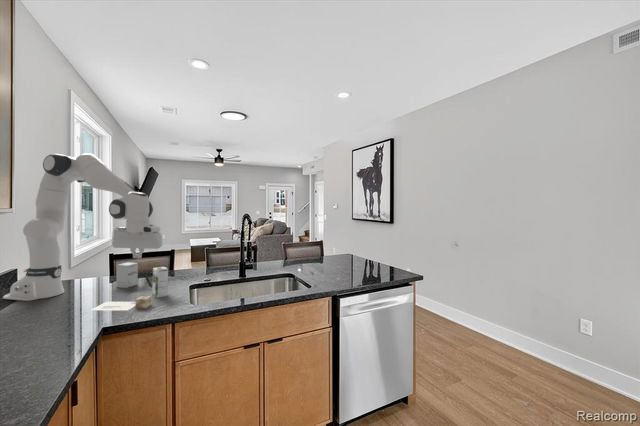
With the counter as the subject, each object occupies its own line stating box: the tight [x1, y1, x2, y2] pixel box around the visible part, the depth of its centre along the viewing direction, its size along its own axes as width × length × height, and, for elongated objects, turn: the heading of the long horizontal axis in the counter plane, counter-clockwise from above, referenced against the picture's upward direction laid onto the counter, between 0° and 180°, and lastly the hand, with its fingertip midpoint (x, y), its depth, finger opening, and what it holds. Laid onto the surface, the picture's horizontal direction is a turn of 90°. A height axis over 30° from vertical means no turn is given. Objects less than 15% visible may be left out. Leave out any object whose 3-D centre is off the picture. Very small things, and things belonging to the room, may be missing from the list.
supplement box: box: [115, 261, 139, 289], centre depth 161 cm, size 7×7×13 cm
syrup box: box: [151, 266, 169, 299], centre depth 146 cm, size 6×6×14 cm
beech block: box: [135, 295, 152, 309], centre depth 130 cm, size 4×4×4 cm
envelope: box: [90, 301, 136, 311], centre depth 130 cm, size 16×11×1 cm
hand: (137, 257), depth 130 cm, fingers closed
